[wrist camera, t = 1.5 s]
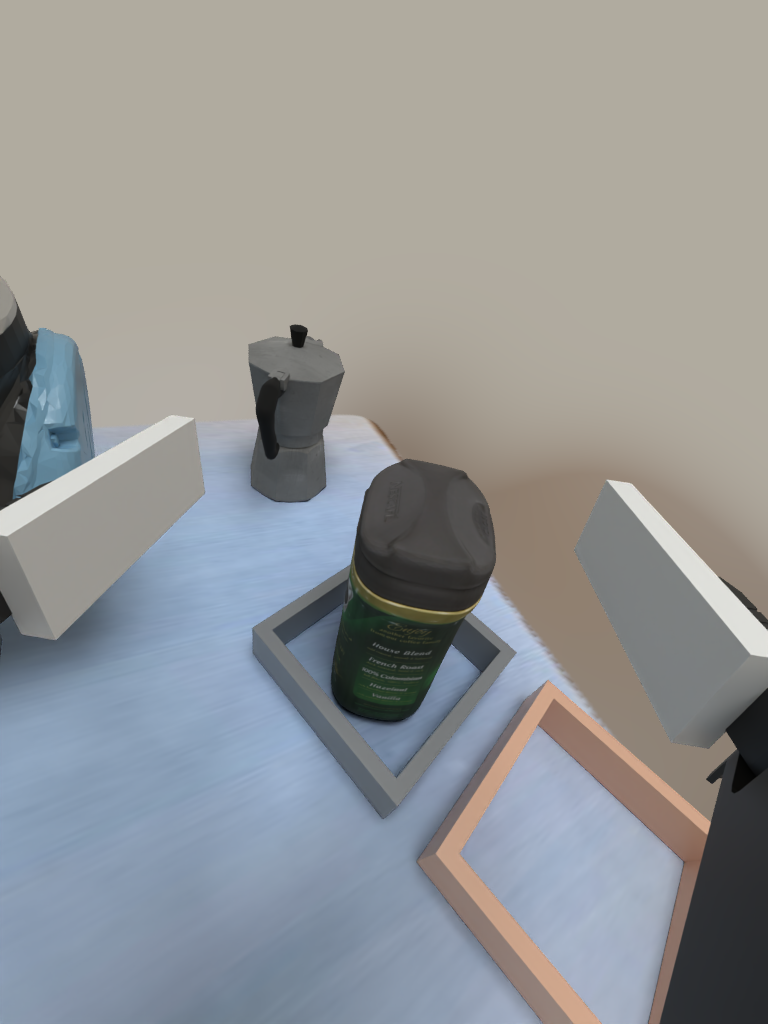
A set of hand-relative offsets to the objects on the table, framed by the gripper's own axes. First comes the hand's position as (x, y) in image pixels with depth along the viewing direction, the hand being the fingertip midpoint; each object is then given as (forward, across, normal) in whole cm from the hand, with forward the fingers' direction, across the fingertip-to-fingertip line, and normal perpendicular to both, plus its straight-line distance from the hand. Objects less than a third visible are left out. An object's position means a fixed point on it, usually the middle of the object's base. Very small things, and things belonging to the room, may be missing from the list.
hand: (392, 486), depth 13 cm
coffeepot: (+29, -13, -18) cm, 37 cm away
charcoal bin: (+11, +1, -23) cm, 25 cm away
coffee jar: (+11, +1, -23) cm, 25 cm away
